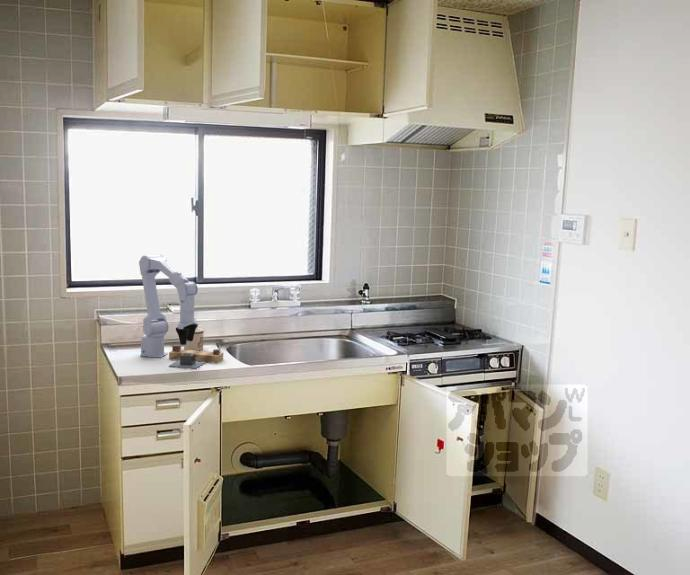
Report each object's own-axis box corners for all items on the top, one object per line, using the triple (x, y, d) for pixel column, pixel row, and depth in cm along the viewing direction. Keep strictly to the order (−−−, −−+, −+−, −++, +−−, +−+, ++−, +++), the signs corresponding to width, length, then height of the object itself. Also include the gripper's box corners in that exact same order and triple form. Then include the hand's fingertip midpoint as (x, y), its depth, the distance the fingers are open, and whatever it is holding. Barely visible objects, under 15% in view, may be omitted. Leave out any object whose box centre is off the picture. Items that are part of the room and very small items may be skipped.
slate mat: (168, 366, 298) (168, 365, 298) (177, 361, 307) (177, 360, 307) (196, 369, 296) (196, 367, 296) (204, 363, 306) (204, 362, 306)
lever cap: (180, 364, 300) (180, 353, 299) (184, 362, 304) (184, 351, 304) (191, 365, 299) (191, 354, 298) (195, 363, 303) (195, 352, 303)
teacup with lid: (201, 351, 327) (202, 326, 325) (181, 351, 326) (182, 326, 325) (205, 346, 338) (206, 321, 337) (186, 345, 338) (186, 321, 336)
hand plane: (169, 359, 311) (169, 346, 310) (175, 355, 318) (175, 343, 317) (218, 363, 308) (218, 350, 307) (223, 359, 314) (223, 347, 314)
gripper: (190, 314, 292) (189, 347, 294) (202, 308, 306) (201, 339, 308) (173, 313, 293) (173, 345, 295) (186, 307, 308) (186, 338, 309)
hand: (186, 342), depth 302 cm, fingers open, 7 cm apart
